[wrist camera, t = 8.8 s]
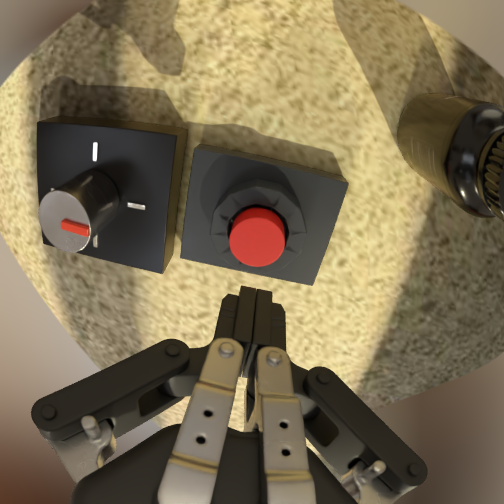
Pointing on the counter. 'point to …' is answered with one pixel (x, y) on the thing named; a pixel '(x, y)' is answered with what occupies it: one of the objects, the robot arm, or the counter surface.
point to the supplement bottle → (457, 149)
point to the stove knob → (78, 210)
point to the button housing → (264, 196)
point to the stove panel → (120, 181)
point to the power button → (257, 237)
